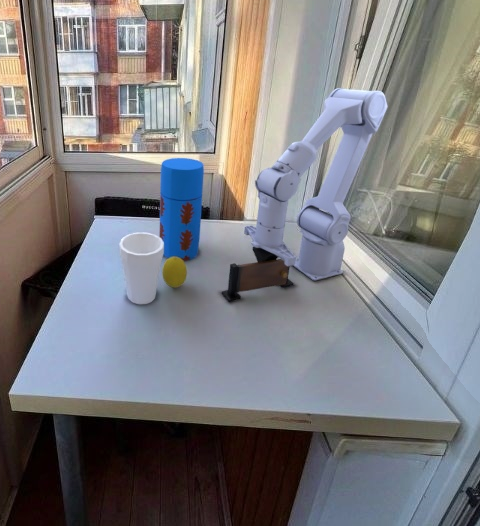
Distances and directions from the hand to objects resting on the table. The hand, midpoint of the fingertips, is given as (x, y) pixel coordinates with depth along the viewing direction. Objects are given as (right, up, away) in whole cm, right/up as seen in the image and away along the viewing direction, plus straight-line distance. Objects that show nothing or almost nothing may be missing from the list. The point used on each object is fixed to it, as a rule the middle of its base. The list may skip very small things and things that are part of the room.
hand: (263, 275), depth 77 cm
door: (-1, -2, -2) cm, 3 cm away
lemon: (-21, -3, 0) cm, 21 cm away
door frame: (-2, -3, -1) cm, 3 cm away
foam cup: (-28, -4, -3) cm, 29 cm away
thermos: (-18, +2, +15) cm, 23 cm away
